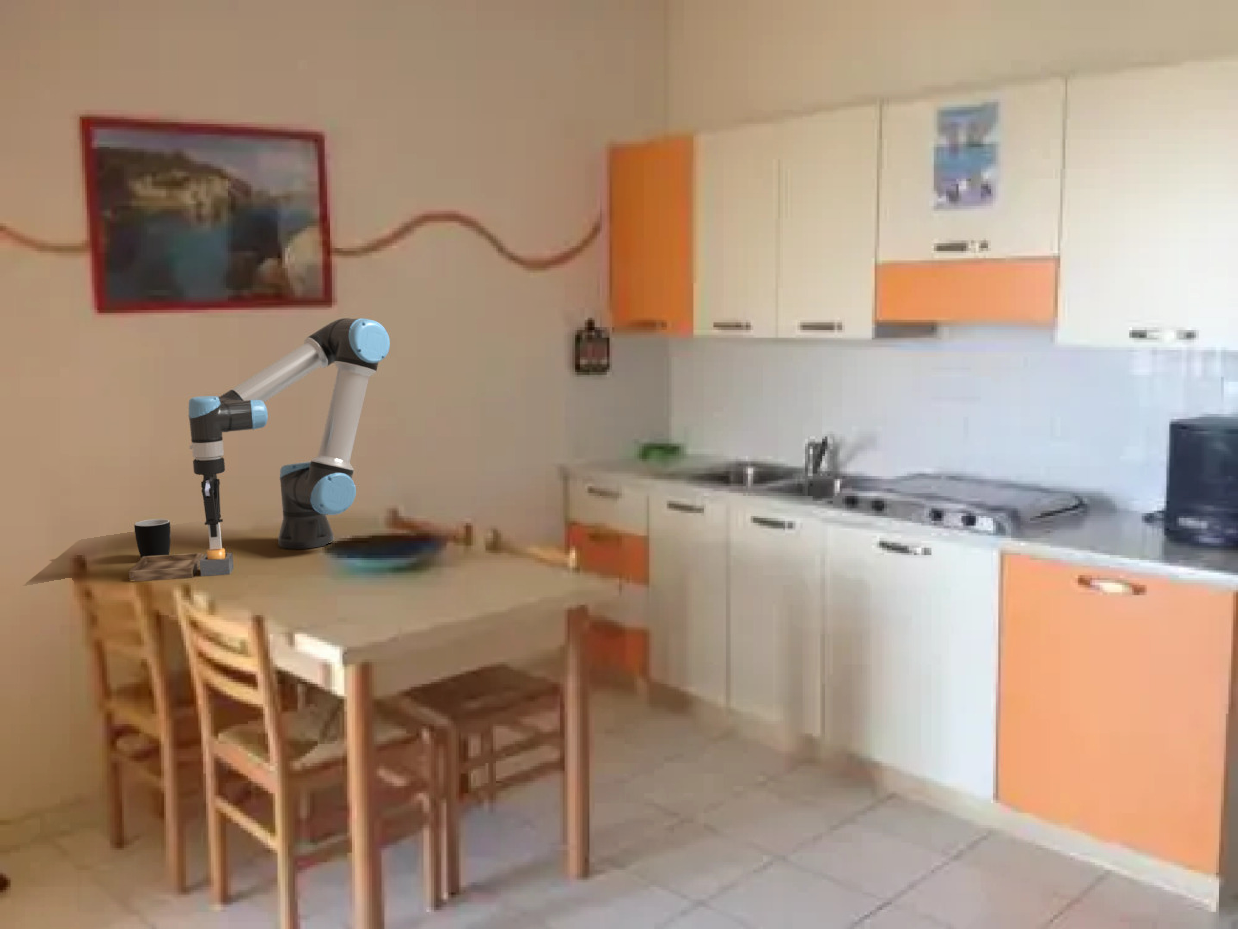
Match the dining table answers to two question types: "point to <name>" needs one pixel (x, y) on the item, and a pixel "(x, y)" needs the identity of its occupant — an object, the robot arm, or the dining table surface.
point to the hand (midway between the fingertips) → (215, 548)
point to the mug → (153, 537)
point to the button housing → (216, 565)
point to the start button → (216, 553)
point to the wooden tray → (166, 567)
